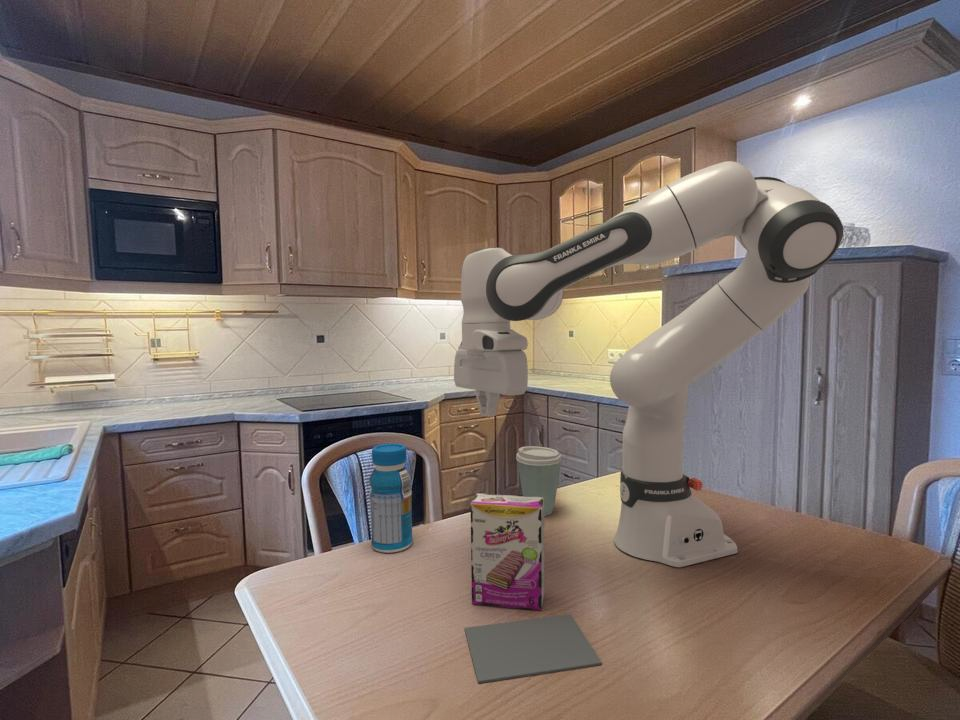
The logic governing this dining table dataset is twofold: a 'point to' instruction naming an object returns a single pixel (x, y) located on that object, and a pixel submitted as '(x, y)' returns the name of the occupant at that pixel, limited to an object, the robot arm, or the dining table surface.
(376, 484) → the beverage bottle
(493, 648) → the mat
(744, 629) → the dining table surface
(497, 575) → the candy bar box
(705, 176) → the robot arm
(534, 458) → the disposable coffee cup
